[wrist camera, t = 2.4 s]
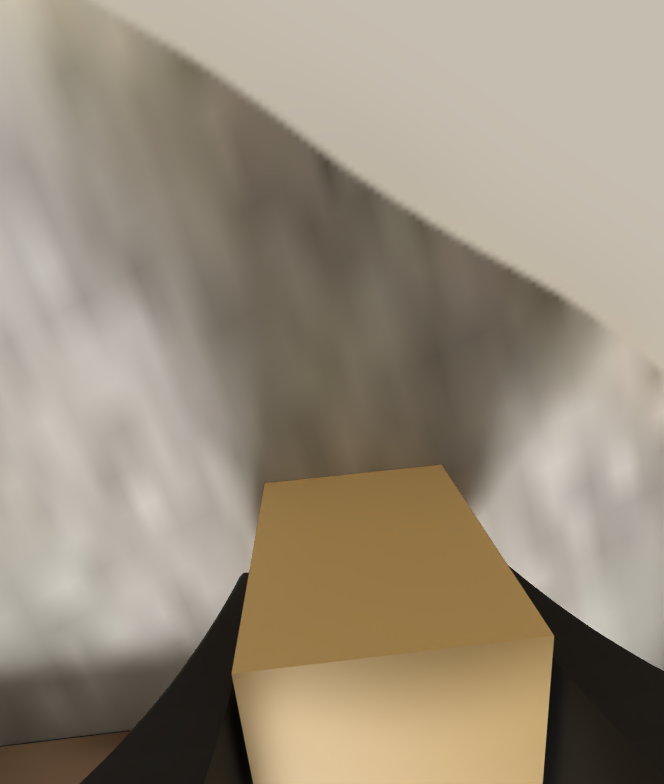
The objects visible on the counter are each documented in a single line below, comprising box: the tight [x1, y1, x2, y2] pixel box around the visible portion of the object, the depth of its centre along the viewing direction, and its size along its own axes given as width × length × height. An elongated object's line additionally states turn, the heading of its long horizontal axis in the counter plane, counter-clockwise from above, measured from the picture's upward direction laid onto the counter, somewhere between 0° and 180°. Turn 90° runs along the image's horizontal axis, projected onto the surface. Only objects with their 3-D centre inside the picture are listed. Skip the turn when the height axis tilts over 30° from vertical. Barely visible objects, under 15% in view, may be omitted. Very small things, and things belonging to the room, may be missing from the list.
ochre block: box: [232, 465, 554, 784], centre depth 10 cm, size 5×5×6 cm
